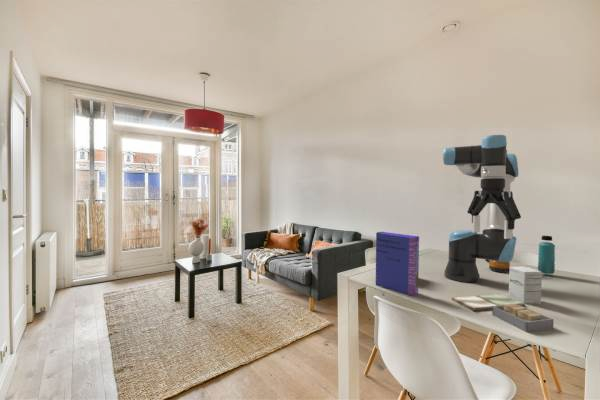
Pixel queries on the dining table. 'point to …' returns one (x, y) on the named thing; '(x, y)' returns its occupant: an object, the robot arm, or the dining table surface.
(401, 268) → the cereal box
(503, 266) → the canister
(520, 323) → the grey tray
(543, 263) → the beverage bottle
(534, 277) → the supplement box
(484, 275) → the dining table surface
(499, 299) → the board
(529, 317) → the oak block
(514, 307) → the oak block
